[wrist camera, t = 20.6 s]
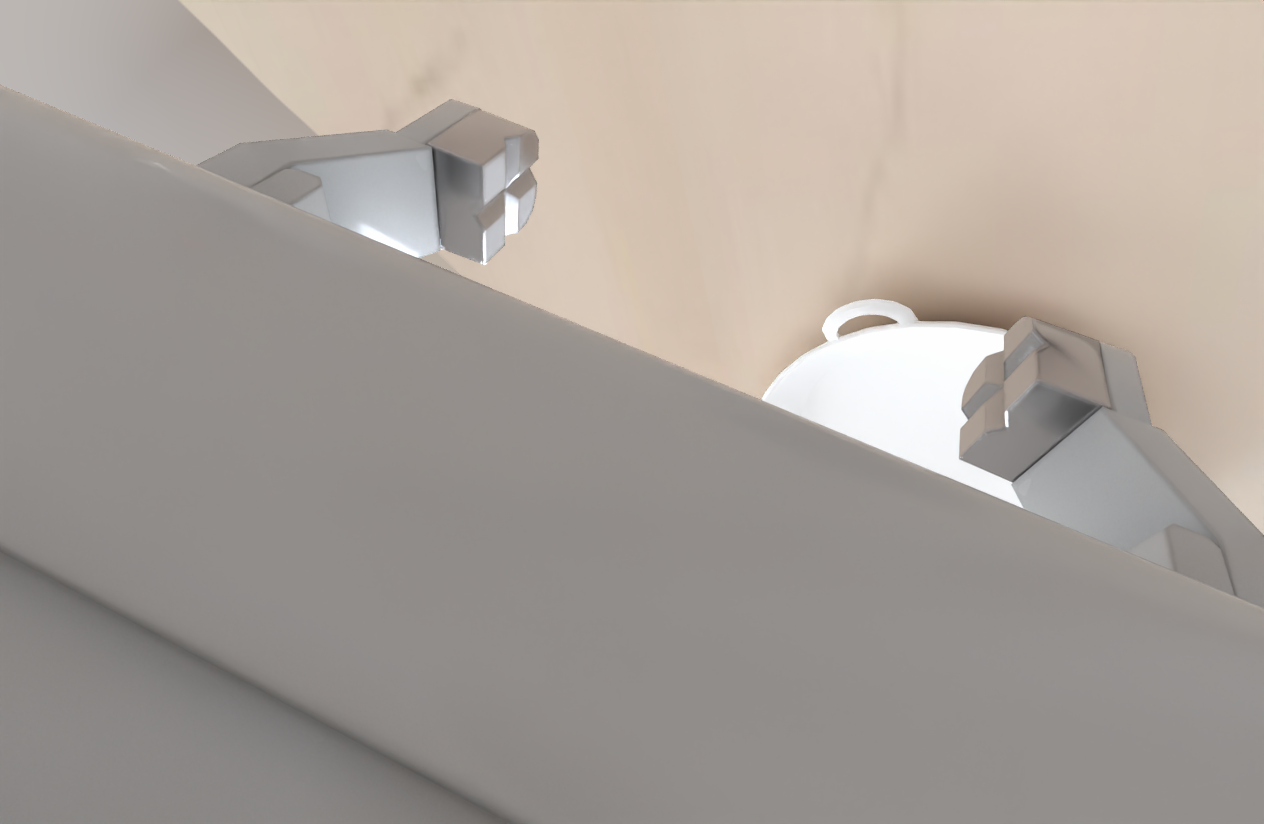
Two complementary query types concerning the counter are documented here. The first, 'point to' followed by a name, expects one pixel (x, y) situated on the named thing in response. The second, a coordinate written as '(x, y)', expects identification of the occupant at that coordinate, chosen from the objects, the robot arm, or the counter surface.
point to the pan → (895, 387)
